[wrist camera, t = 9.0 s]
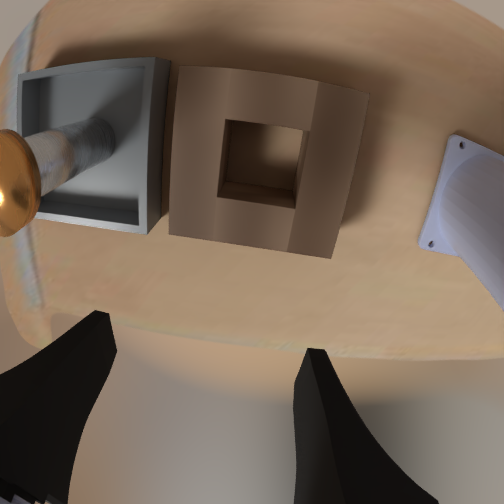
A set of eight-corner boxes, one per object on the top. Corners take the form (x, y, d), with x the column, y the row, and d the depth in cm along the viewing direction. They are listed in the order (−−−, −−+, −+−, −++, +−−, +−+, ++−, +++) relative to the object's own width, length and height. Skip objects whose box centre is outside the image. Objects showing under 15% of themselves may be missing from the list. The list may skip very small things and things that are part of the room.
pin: (127, 106, 16) (20, 131, 8) (125, 176, 18) (33, 243, 10) (69, 108, 16) (-39, 138, 8) (70, 172, 18) (-26, 230, 10)
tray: (171, 60, 15) (155, 57, 13) (161, 218, 20) (147, 234, 17) (41, 72, 15) (18, 74, 13) (44, 203, 20) (25, 216, 17)
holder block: (354, 93, 15) (369, 93, 12) (324, 235, 19) (331, 258, 17) (195, 69, 15) (179, 65, 12) (183, 213, 19) (168, 234, 17)
